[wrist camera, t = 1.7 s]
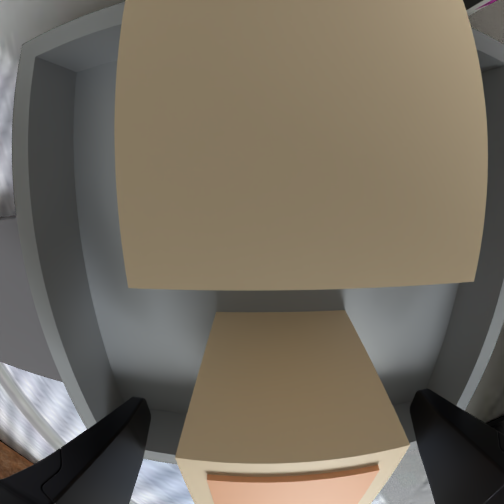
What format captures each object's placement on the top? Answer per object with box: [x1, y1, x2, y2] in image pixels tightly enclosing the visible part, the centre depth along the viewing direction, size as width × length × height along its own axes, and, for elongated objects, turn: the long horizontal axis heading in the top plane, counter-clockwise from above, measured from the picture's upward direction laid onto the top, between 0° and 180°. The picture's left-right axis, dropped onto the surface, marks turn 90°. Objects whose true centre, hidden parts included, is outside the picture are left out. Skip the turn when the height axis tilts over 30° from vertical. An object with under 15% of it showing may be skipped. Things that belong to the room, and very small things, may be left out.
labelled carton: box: [175, 310, 410, 504], centre depth 8 cm, size 4×4×6 cm
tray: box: [12, 2, 504, 464], centre depth 9 cm, size 16×16×3 cm
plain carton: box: [114, 0, 488, 290], centre depth 5 cm, size 4×4×6 cm
